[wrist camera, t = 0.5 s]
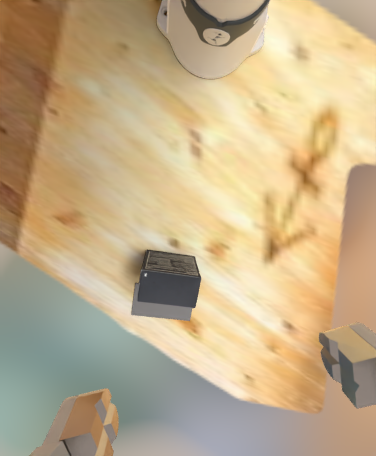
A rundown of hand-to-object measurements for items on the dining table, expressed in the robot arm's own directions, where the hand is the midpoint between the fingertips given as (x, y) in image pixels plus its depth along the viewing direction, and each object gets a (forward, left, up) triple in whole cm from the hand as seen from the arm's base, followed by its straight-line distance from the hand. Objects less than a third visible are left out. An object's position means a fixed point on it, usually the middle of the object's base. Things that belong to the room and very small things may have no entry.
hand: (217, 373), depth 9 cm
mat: (+21, 0, -41) cm, 46 cm away
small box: (+12, 0, -41) cm, 43 cm away
